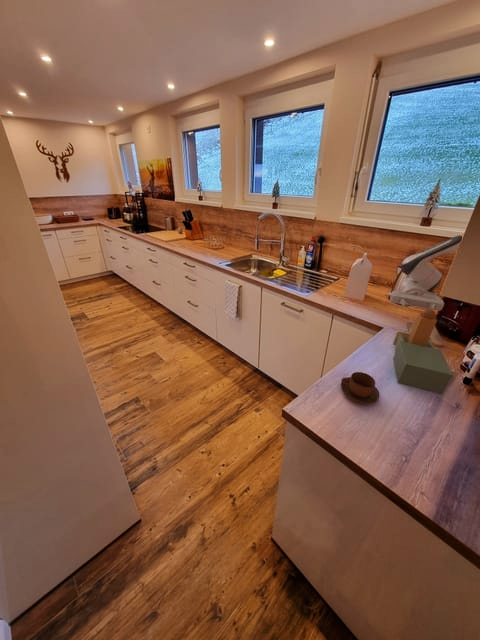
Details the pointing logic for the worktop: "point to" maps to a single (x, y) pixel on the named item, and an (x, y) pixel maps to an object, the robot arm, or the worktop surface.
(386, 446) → the worktop surface
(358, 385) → the cup and saucer
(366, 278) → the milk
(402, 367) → the green box
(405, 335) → the drawer
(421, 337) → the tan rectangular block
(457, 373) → the worktop surface
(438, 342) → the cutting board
